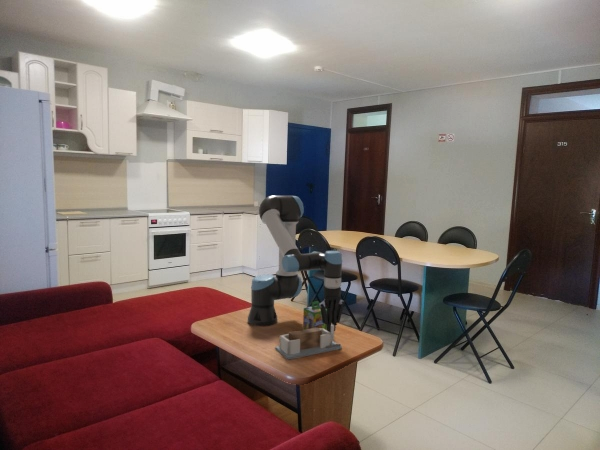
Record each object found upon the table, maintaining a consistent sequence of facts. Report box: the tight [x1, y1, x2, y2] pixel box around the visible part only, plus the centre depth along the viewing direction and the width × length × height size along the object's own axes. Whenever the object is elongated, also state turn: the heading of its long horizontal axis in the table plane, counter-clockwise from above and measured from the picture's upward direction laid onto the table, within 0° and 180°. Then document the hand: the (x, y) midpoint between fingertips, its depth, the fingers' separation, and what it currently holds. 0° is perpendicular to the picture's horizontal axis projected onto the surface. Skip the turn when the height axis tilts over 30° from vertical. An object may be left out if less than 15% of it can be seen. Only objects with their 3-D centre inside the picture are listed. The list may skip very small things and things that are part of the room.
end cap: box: [320, 328, 333, 348], centre depth 175 cm, size 8×6×5 cm
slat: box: [288, 328, 322, 350], centre depth 171 cm, size 14×4×7 cm, turn 118°
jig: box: [274, 333, 343, 360], centre depth 172 cm, size 12×26×6 cm, turn 118°
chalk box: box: [302, 300, 327, 330], centre depth 192 cm, size 9×9×15 cm
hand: (330, 338), depth 178 cm, fingers closed
